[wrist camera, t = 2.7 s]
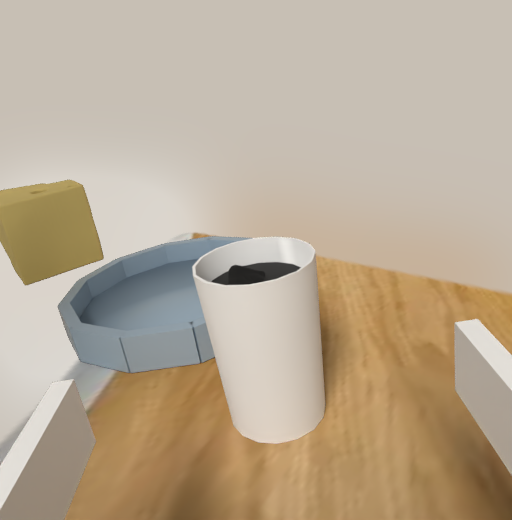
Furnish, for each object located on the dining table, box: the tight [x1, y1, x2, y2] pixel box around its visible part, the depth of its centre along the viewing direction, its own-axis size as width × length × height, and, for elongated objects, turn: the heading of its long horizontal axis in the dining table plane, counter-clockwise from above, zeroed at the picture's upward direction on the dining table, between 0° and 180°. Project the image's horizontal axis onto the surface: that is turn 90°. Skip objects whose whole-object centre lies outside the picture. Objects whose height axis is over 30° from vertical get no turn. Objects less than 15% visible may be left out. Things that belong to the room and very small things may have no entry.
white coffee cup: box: [192, 237, 326, 444], centre depth 27 cm, size 7×7×10 cm
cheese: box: [0, 180, 103, 285], centre depth 60 cm, size 10×11×10 cm
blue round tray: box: [58, 236, 253, 373], centre depth 44 cm, size 20×20×3 cm
